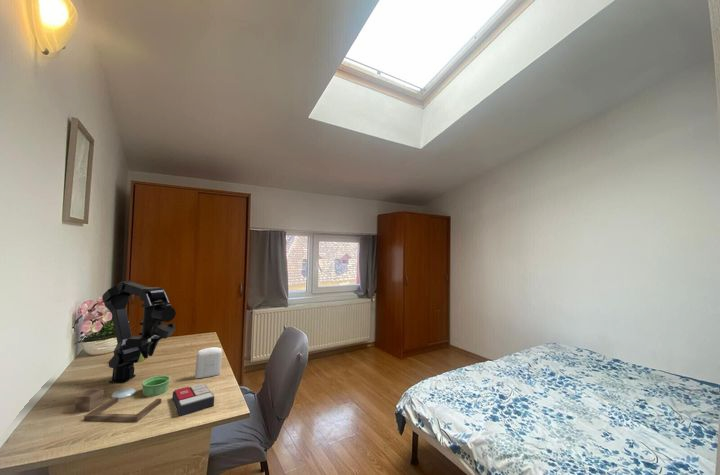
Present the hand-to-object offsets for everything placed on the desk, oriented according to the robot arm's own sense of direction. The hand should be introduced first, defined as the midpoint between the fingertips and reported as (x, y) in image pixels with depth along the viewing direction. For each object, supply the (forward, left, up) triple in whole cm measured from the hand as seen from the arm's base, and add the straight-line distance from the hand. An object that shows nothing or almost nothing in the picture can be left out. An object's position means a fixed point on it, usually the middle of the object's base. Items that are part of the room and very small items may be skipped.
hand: (148, 357), depth 114 cm
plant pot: (-23, +26, -12) cm, 37 cm away
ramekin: (+6, -3, -12) cm, 14 cm away
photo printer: (+19, +12, -12) cm, 26 cm away
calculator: (+24, -10, -13) cm, 29 cm away
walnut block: (-9, -15, -12) cm, 21 cm away
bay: (+5, -17, -12) cm, 21 cm away
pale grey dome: (-4, -6, -12) cm, 14 cm away
